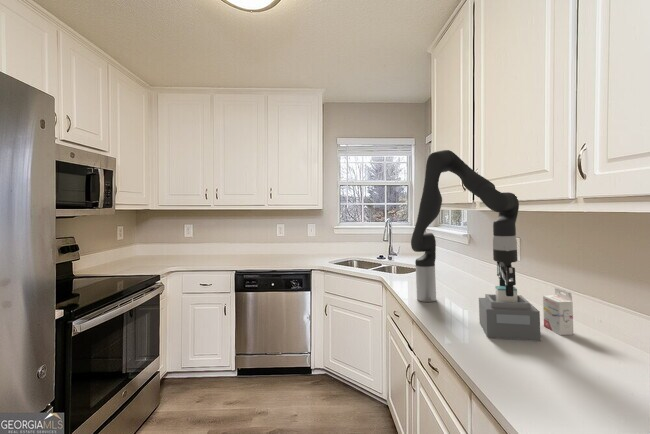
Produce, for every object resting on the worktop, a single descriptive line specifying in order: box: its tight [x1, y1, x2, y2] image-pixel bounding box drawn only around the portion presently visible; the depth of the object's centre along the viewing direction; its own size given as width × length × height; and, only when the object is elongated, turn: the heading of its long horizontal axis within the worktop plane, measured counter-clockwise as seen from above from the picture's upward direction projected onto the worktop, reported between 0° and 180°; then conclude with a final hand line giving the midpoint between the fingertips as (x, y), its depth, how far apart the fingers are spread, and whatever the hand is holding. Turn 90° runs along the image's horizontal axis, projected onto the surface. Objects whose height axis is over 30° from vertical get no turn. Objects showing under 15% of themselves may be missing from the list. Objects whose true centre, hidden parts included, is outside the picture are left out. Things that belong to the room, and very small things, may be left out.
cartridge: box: [494, 285, 518, 302], centre depth 112 cm, size 4×6×6 cm, turn 73°
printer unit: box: [478, 293, 542, 342], centre depth 112 cm, size 15×16×12 cm
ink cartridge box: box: [542, 287, 574, 336], centre depth 111 cm, size 9×5×15 cm, turn 179°
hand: (506, 292), depth 111 cm, fingers open, 8 cm apart
